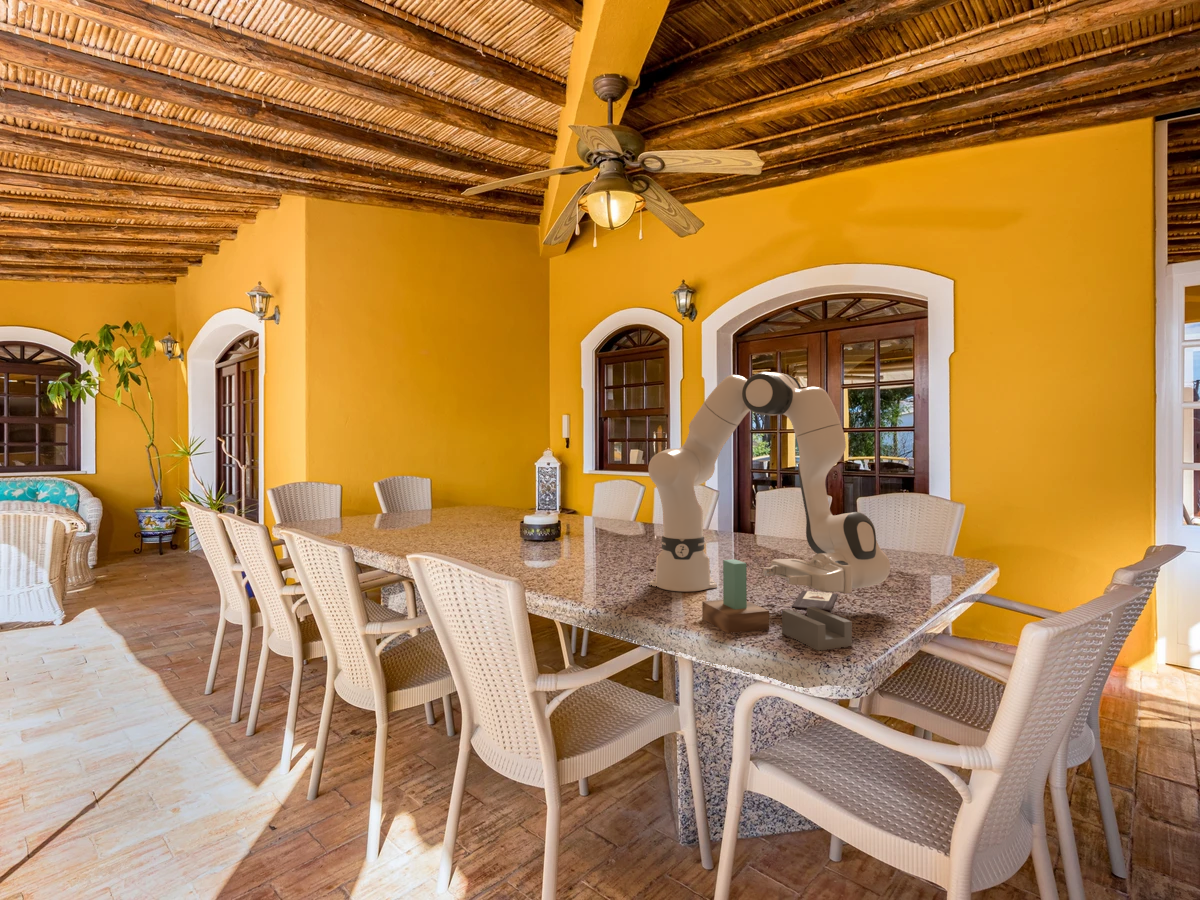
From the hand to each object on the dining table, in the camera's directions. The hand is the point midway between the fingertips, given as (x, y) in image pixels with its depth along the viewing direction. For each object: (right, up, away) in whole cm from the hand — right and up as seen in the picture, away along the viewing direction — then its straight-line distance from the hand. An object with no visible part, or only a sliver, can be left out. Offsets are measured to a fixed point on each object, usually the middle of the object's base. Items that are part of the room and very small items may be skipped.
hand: (776, 576), depth 146 cm
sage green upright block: (-10, -6, -3) cm, 12 cm away
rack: (+4, -10, -15) cm, 19 cm away
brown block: (-10, -10, -3) cm, 15 cm away
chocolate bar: (+14, -10, +16) cm, 24 cm away
